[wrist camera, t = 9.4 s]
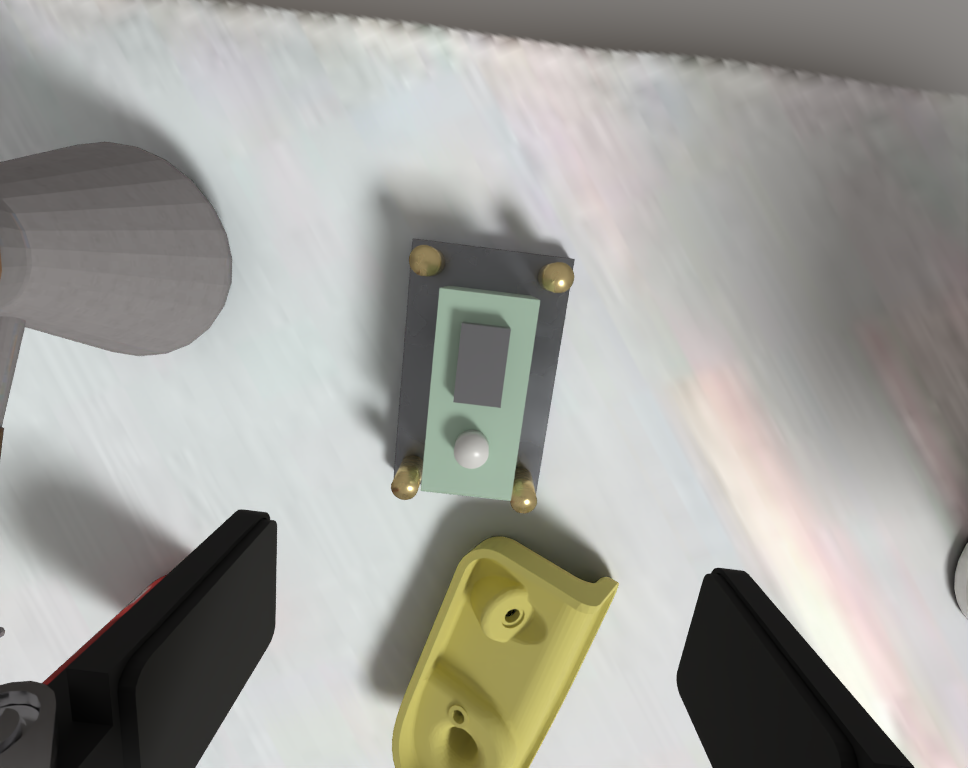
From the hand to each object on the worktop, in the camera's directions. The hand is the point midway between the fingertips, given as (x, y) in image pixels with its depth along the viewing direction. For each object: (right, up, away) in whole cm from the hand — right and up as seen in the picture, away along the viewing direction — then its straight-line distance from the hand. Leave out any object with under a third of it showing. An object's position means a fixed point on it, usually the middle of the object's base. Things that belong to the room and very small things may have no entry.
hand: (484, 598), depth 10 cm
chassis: (0, +5, +20) cm, 20 cm away
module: (0, +5, +19) cm, 19 cm away
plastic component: (+1, -15, +25) cm, 30 cm away
